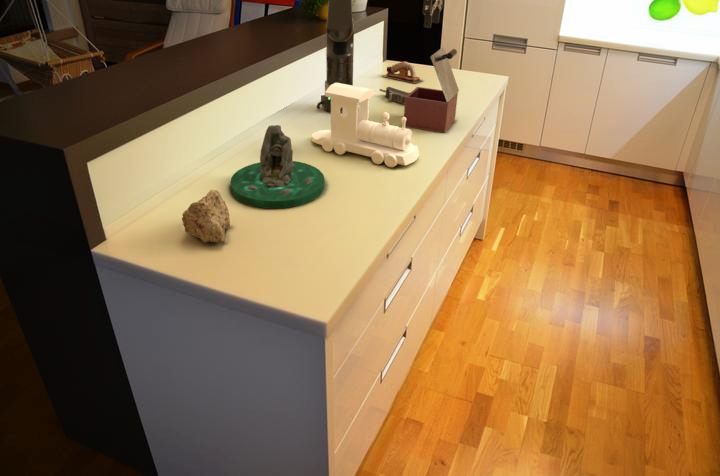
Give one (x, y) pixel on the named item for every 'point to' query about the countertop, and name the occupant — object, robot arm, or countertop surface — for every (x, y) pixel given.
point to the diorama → (277, 176)
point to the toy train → (364, 129)
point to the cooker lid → (445, 72)
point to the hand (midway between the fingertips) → (431, 25)
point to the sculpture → (402, 72)
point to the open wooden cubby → (429, 110)
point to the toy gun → (395, 94)
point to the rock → (207, 218)
